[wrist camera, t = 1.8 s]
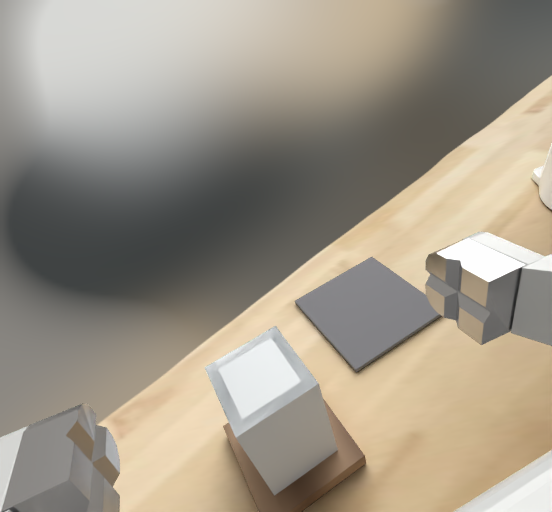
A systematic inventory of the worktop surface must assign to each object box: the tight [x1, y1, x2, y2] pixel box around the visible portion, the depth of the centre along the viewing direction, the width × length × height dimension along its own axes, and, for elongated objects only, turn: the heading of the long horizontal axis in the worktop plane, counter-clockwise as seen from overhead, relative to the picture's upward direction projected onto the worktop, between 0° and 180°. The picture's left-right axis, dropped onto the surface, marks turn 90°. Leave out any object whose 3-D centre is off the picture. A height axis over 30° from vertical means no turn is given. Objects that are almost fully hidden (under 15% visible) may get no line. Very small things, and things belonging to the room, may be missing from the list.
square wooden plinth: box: [223, 399, 366, 512], centre depth 30 cm, size 9×9×6 cm
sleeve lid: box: [205, 326, 338, 496], centre depth 28 cm, size 6×6×10 cm
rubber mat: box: [295, 257, 441, 372], centre depth 41 cm, size 12×12×1 cm
